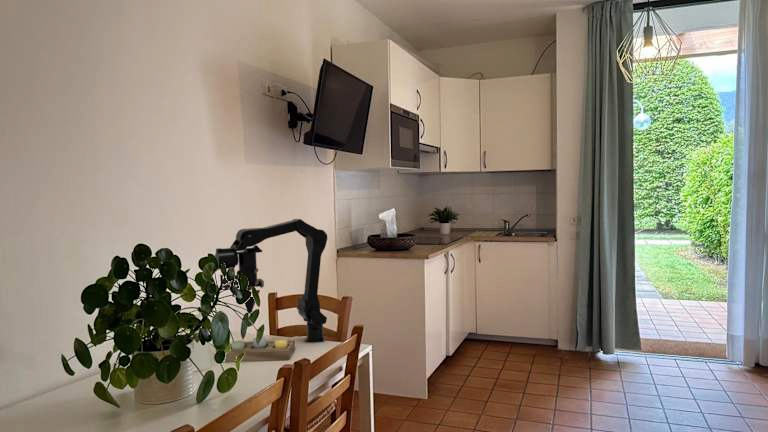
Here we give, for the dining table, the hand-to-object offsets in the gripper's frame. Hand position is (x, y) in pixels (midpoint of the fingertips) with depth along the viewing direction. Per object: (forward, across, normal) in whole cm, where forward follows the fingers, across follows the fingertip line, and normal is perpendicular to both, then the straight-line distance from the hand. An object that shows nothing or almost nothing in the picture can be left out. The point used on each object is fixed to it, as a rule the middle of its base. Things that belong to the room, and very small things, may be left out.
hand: (249, 313), depth 179 cm
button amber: (+12, +5, +11) cm, 17 cm away
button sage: (+12, +5, -3) cm, 14 cm away
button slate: (+11, +5, +4) cm, 13 cm away
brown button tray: (+13, +5, +4) cm, 14 cm away
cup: (+13, +15, -13) cm, 24 cm away
